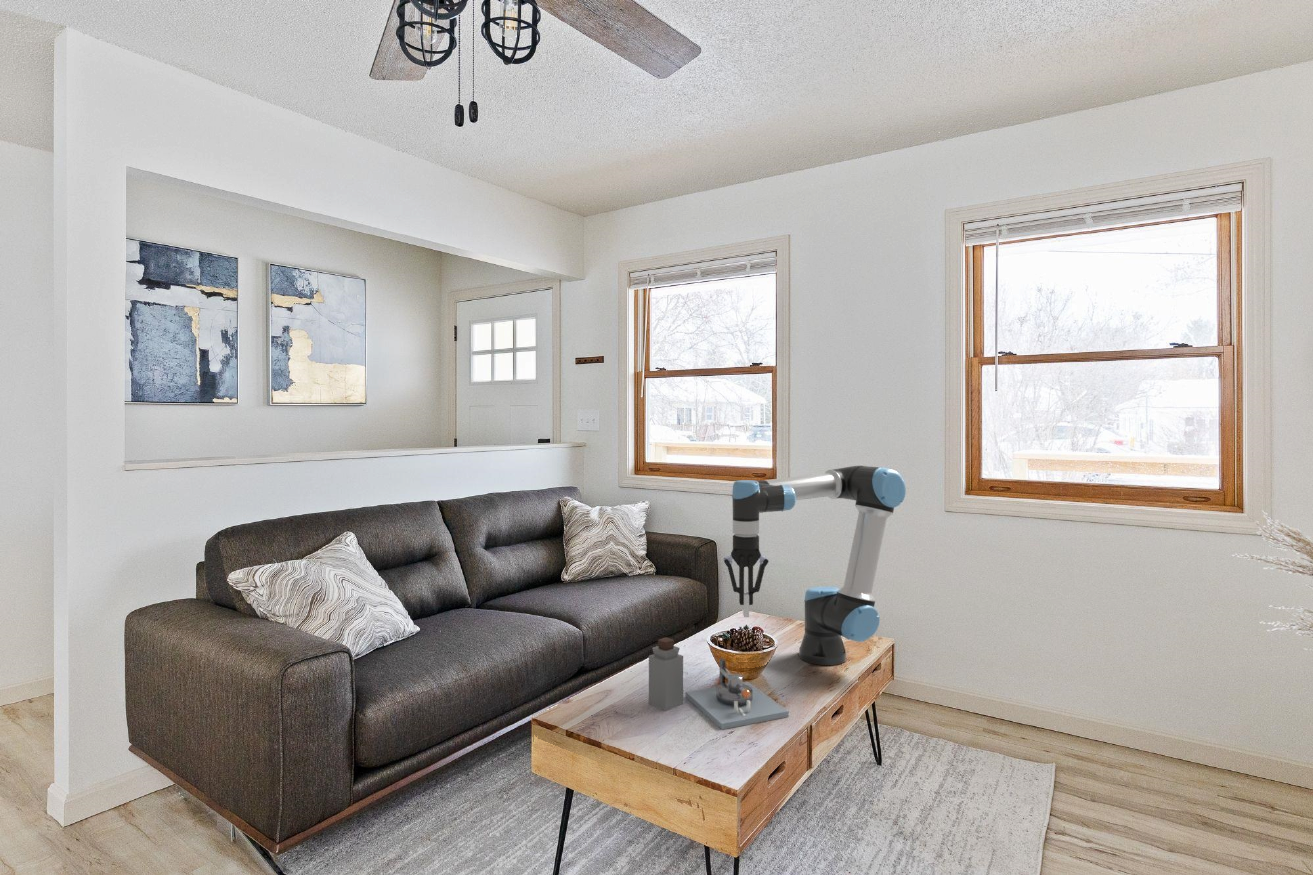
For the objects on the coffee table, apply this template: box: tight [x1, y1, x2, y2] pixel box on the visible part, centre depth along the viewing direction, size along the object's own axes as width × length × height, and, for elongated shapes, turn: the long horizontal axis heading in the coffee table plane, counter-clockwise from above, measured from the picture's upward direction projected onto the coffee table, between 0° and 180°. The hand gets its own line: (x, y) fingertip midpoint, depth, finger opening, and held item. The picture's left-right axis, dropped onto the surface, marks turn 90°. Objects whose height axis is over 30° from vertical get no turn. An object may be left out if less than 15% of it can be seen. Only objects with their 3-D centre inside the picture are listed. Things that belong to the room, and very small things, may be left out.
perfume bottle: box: [648, 636, 684, 712], centre depth 195 cm, size 7×7×18 cm
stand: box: [685, 681, 790, 730], centre depth 193 cm, size 20×22×4 cm
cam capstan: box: [716, 657, 753, 705], centre depth 195 cm, size 20×10×7 cm, turn 15°
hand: (746, 615), depth 202 cm, fingers closed
